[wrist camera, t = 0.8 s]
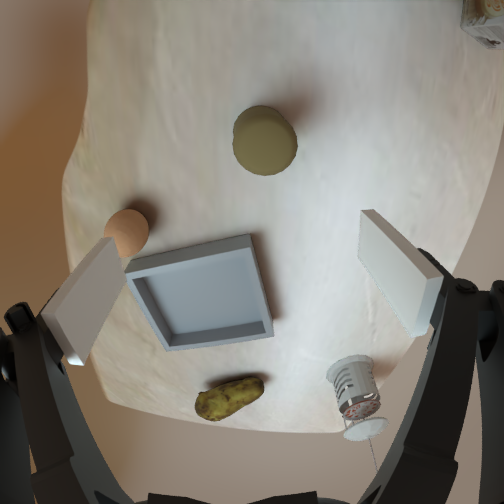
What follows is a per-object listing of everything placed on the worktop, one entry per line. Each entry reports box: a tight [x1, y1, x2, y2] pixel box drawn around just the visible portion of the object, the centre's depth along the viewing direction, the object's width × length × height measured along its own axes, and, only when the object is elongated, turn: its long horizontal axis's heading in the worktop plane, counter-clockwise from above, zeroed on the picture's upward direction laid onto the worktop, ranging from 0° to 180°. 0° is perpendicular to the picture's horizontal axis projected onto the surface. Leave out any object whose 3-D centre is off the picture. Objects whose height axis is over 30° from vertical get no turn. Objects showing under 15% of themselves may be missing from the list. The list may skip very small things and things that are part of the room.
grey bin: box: [124, 234, 274, 352], centre depth 40 cm, size 17×15×4 cm
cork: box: [233, 106, 298, 176], centre depth 26 cm, size 6×6×11 cm
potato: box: [195, 377, 264, 421], centre depth 49 cm, size 8×13×8 cm, turn 90°
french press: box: [326, 355, 389, 473], centre depth 41 cm, size 10×12×25 cm
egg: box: [104, 209, 149, 257], centre depth 33 cm, size 5×5×7 cm
